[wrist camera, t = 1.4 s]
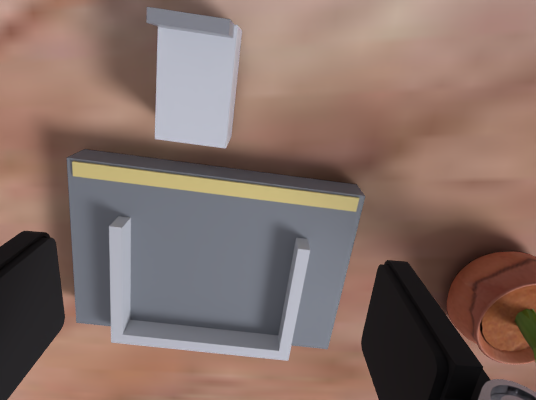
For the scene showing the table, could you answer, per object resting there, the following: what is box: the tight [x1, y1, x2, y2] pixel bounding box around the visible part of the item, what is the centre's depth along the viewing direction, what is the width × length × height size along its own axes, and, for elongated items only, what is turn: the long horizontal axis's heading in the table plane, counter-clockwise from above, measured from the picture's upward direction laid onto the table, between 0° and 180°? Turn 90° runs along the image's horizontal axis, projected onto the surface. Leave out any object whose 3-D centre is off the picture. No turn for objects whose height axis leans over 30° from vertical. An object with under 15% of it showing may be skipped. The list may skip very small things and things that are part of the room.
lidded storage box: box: [147, 7, 242, 148], centre depth 26 cm, size 8×5×8 cm, turn 172°
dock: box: [67, 149, 365, 361], centre depth 33 cm, size 16×24×5 cm, turn 82°
